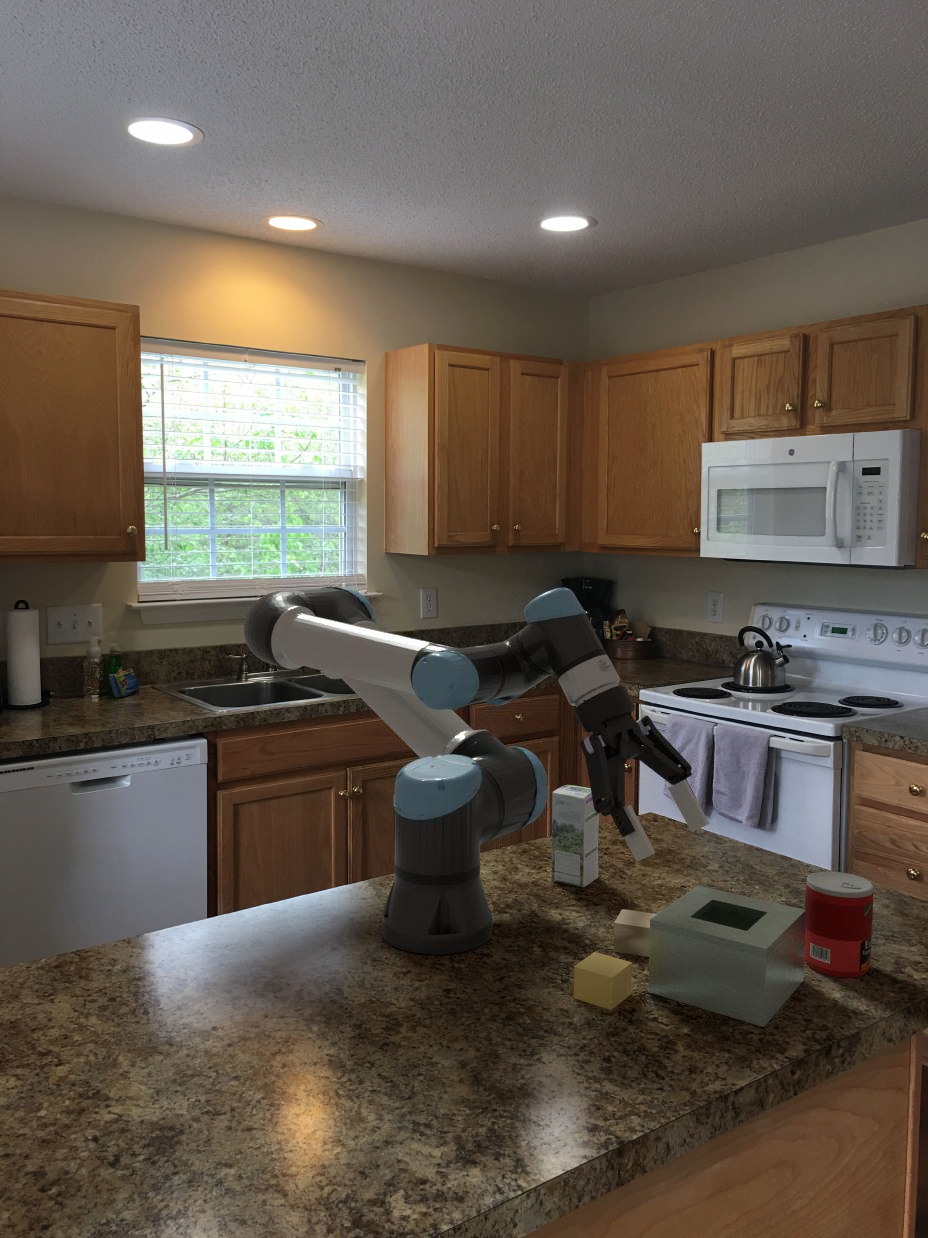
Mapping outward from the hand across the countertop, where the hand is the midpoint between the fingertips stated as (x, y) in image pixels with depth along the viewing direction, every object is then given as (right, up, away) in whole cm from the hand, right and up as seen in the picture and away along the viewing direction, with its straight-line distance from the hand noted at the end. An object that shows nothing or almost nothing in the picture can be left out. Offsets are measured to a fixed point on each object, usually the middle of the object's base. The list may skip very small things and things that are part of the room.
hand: (674, 842), depth 129 cm
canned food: (+20, -16, -1) cm, 26 cm away
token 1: (-11, -16, -10) cm, 22 cm away
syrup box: (-10, -13, +29) cm, 33 cm away
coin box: (+5, -16, -7) cm, 18 cm away
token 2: (-4, -15, +4) cm, 16 cm away
